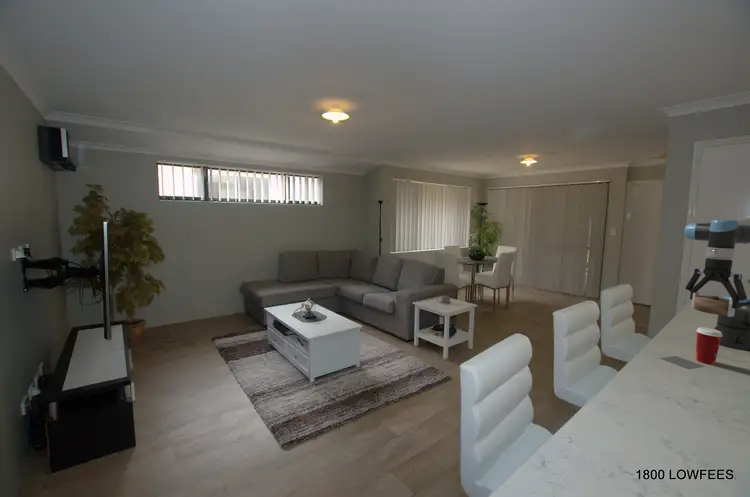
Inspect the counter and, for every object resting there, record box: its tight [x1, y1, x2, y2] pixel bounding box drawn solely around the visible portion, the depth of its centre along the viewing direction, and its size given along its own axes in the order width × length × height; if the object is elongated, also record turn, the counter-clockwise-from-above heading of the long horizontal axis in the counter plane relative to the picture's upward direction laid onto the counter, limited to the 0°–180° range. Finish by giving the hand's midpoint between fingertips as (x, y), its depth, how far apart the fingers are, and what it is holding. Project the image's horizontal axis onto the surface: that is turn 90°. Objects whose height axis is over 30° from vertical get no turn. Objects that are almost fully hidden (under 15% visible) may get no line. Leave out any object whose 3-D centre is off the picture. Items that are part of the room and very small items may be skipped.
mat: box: [659, 355, 705, 370], centre depth 136 cm, size 10×10×1 cm
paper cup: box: [695, 326, 723, 365], centre depth 137 cm, size 8×8×14 cm
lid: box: [693, 295, 729, 316], centre depth 135 cm, size 11×11×6 cm
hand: (711, 311), depth 136 cm, fingers closed on lid, 11 cm apart
